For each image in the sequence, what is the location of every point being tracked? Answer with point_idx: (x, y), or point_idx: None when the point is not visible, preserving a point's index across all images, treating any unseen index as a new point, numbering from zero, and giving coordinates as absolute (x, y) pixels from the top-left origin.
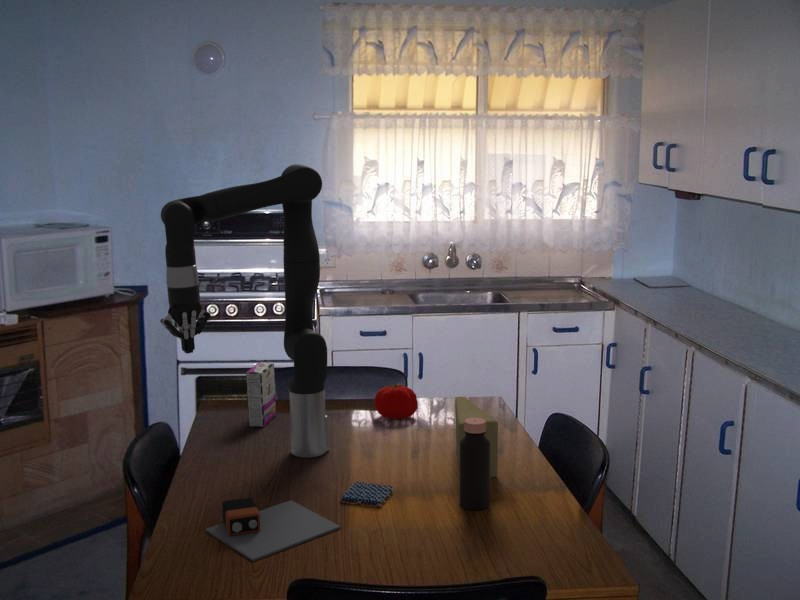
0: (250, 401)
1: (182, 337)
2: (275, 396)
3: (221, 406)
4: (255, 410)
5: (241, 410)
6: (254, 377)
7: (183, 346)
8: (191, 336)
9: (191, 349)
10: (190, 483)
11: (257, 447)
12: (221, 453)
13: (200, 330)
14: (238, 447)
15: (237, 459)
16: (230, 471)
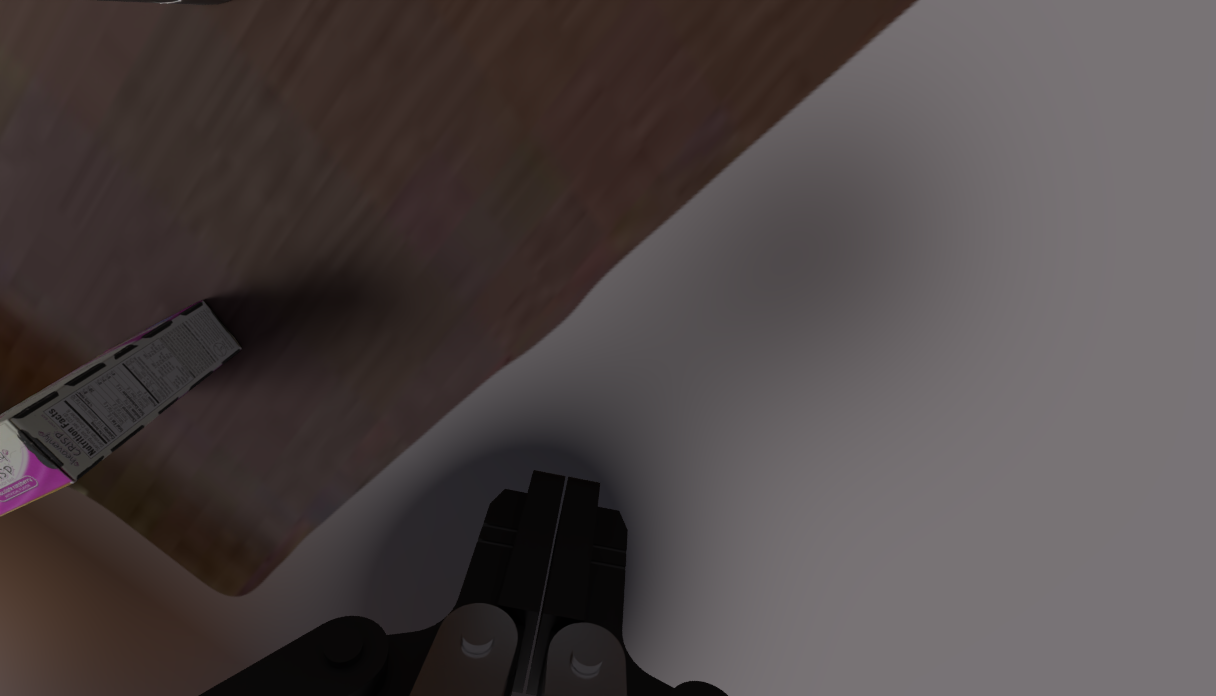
0: (169, 389)
1: (636, 678)
2: (44, 388)
3: (225, 540)
4: (181, 353)
5: (189, 473)
6: (59, 433)
7: (620, 574)
8: (503, 630)
9: (551, 493)
10: (752, 75)
11: (333, 159)
12: (470, 226)
13: (305, 662)
14: (388, 221)
15: (465, 123)
16: (566, 39)
